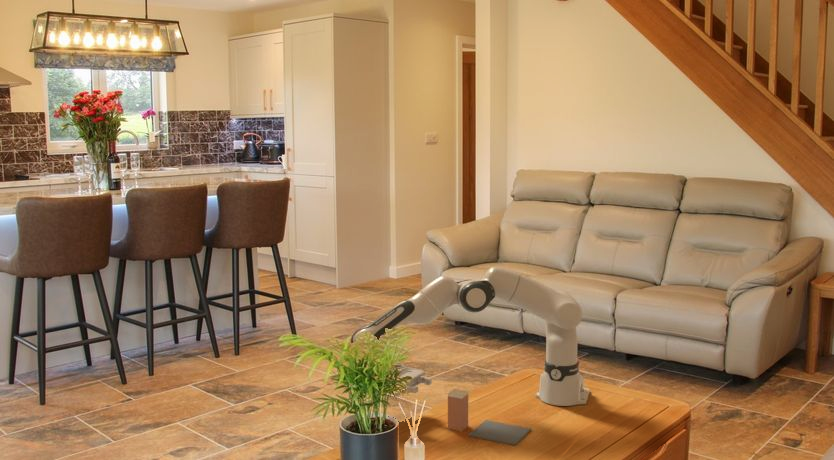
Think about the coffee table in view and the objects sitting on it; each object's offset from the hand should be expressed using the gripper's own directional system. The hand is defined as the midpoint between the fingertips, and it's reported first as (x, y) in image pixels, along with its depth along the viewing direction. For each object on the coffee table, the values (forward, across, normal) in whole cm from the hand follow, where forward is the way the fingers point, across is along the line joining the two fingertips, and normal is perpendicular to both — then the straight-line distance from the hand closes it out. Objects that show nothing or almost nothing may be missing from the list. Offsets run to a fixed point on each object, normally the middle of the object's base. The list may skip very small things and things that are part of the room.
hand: (424, 386), depth 264 cm
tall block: (+13, 0, +12) cm, 17 cm away
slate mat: (+27, +2, +12) cm, 29 cm away
